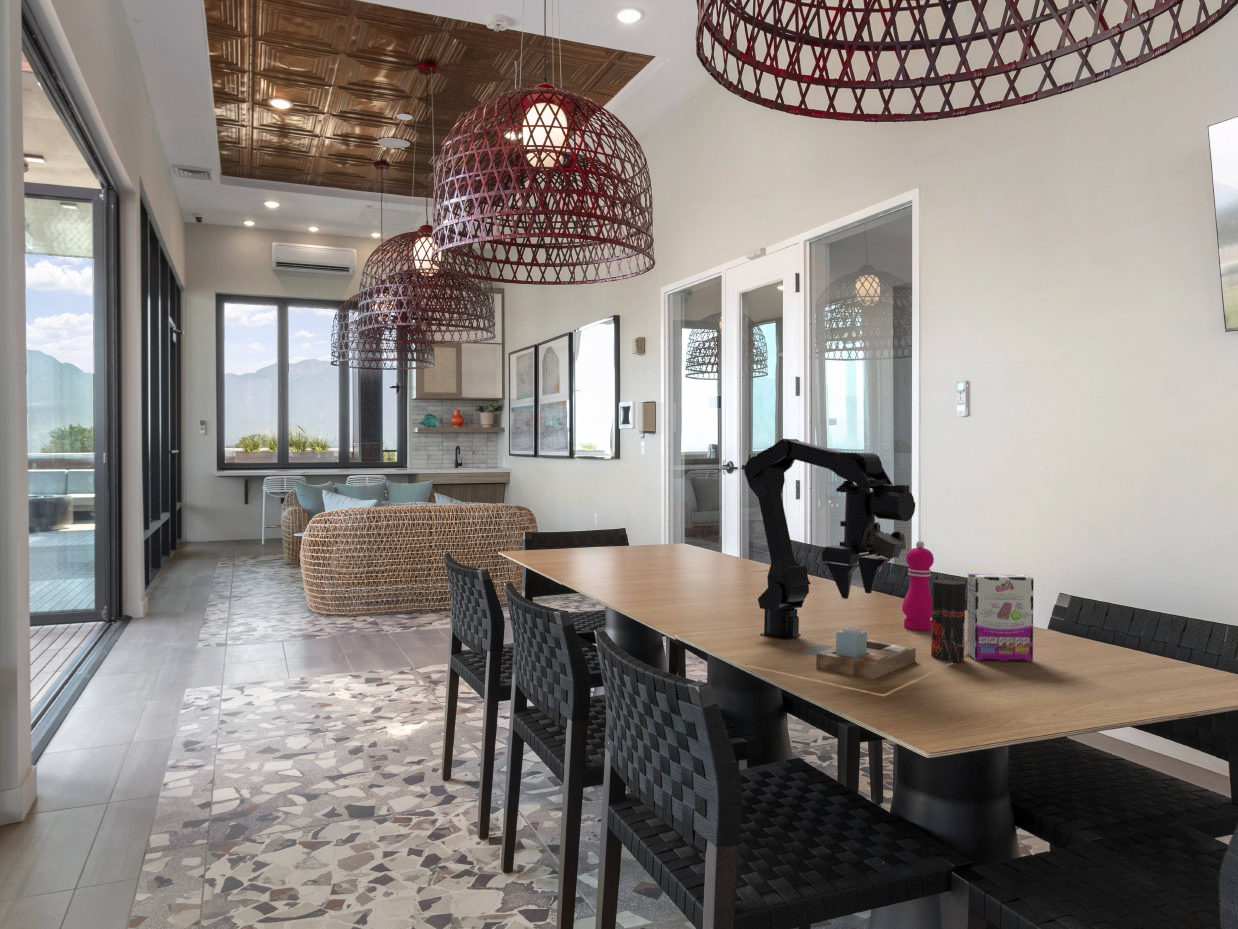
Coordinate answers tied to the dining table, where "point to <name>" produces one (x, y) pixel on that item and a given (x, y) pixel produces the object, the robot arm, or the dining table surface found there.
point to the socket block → (868, 660)
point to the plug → (851, 642)
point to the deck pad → (816, 649)
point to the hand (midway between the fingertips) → (856, 595)
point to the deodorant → (948, 620)
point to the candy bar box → (1000, 617)
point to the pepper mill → (918, 589)
